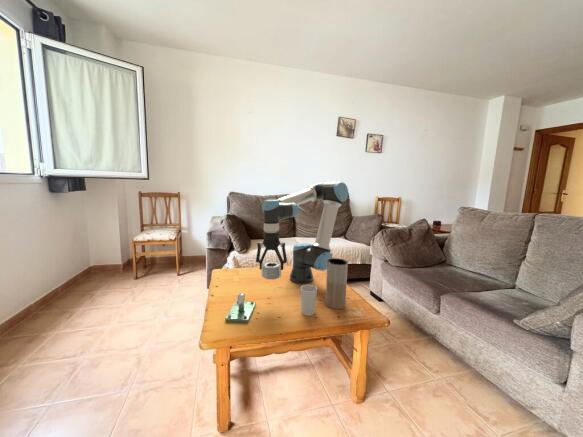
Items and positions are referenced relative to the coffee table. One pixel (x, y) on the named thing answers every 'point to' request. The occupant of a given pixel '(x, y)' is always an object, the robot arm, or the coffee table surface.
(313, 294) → the cup
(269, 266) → the ring
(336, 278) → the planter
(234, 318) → the shaft stand
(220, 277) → the coffee table surface
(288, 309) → the coffee table surface
